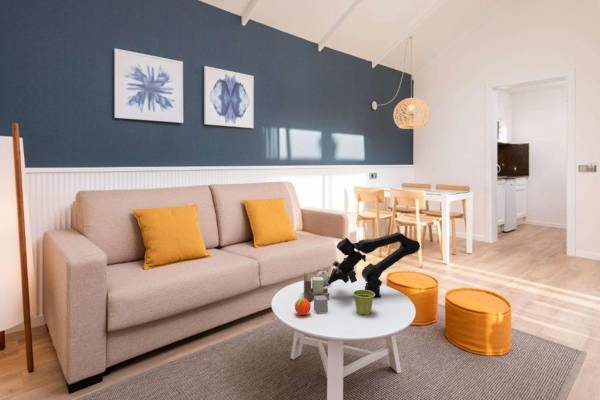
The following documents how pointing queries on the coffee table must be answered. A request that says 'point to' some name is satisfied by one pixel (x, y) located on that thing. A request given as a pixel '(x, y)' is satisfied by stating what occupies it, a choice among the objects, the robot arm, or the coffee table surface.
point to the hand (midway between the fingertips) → (328, 283)
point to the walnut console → (308, 289)
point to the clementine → (302, 306)
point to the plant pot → (363, 301)
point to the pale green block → (317, 284)
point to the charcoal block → (320, 304)
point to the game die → (324, 276)
